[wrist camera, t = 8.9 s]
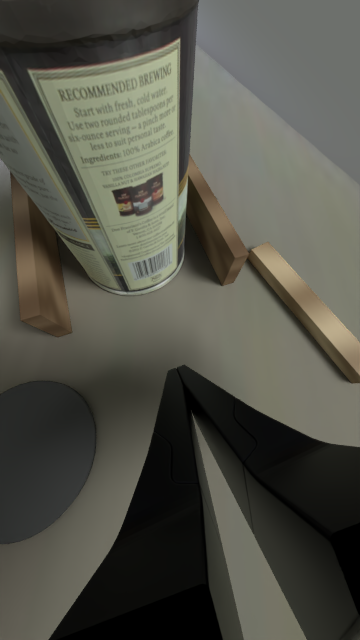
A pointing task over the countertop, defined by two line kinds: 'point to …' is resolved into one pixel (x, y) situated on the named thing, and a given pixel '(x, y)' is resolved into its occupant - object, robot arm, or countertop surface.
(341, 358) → the oak stirring stick
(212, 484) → the countertop surface
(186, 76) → the coffee can
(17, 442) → the mat
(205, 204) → the walnut cubby
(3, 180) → the countertop surface
